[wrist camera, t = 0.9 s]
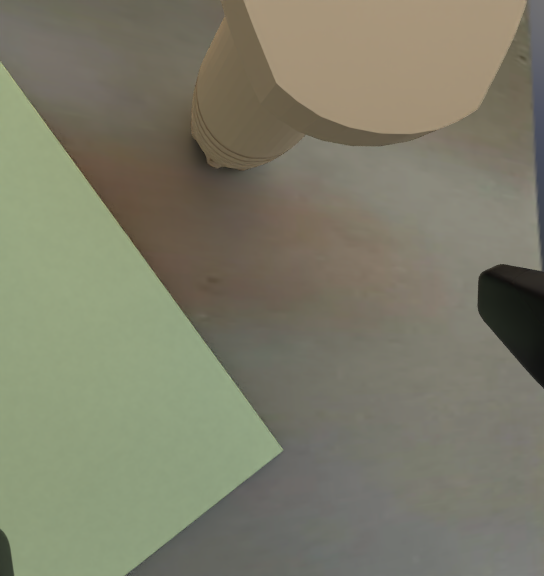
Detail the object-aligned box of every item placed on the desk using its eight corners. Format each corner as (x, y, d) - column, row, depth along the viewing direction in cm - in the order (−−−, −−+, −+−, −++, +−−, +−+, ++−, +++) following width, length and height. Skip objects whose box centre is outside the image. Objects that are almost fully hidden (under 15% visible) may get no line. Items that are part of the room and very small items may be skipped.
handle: (284, 66, 22) (549, -282, 8) (279, 213, 23) (518, 147, 8) (173, 51, 21) (234, -392, 6) (169, 206, 21) (219, 117, 7)
